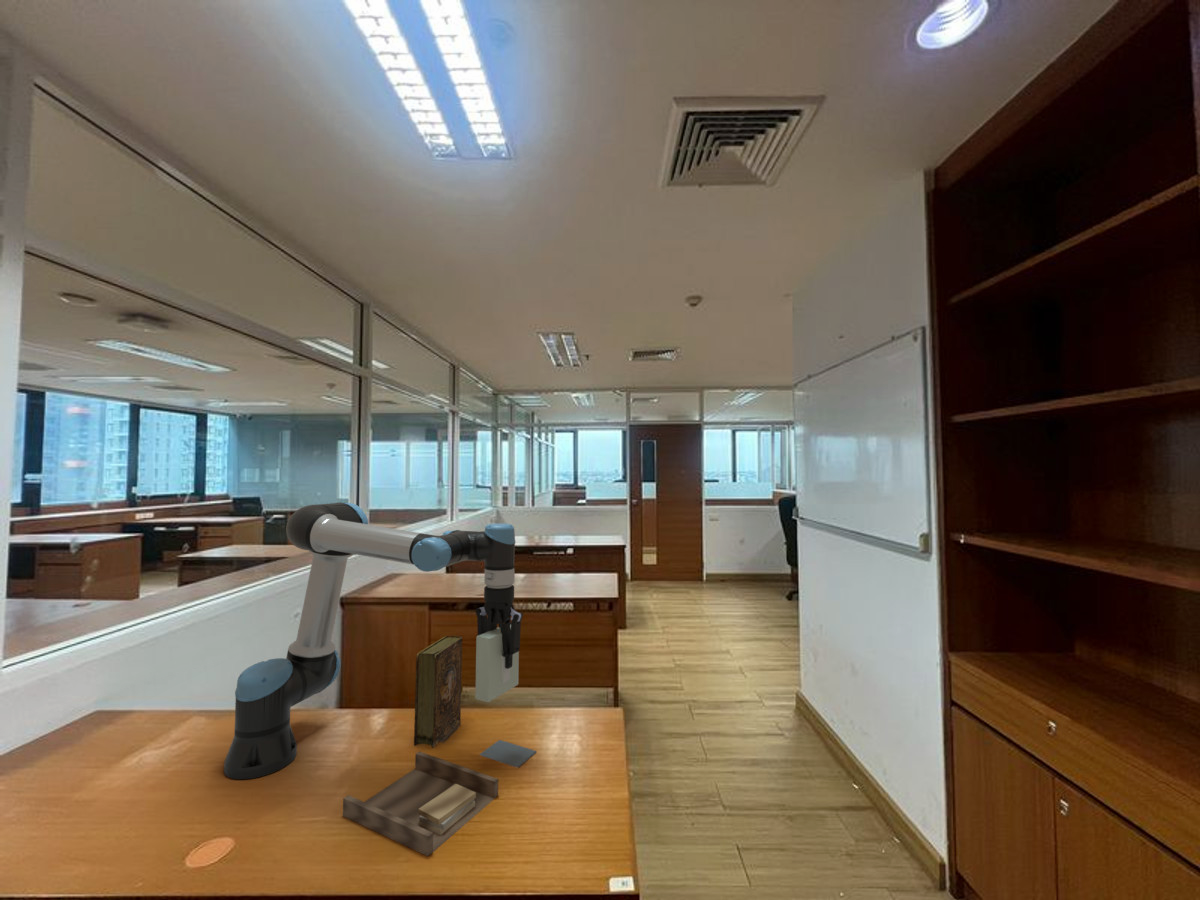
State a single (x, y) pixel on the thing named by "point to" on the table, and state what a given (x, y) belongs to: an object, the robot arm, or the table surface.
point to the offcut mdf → (445, 822)
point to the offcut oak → (446, 803)
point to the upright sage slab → (492, 666)
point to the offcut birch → (440, 831)
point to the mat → (508, 753)
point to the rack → (419, 802)
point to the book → (438, 691)
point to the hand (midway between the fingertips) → (497, 678)
